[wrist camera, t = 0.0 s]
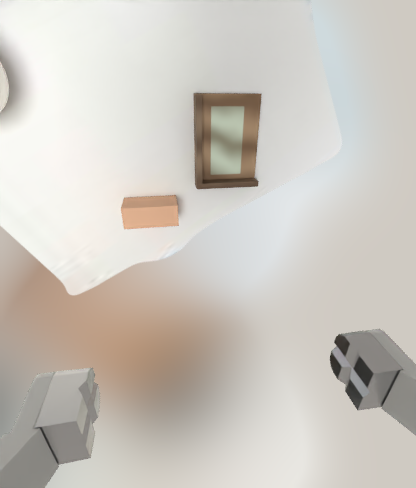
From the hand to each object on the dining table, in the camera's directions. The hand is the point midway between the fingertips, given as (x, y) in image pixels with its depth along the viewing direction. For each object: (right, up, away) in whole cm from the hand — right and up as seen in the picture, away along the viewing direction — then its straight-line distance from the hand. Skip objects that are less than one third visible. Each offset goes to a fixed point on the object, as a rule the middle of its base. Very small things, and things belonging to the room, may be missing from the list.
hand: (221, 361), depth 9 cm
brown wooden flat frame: (+3, +23, +43) cm, 49 cm away
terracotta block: (-12, +12, +47) cm, 50 cm away
